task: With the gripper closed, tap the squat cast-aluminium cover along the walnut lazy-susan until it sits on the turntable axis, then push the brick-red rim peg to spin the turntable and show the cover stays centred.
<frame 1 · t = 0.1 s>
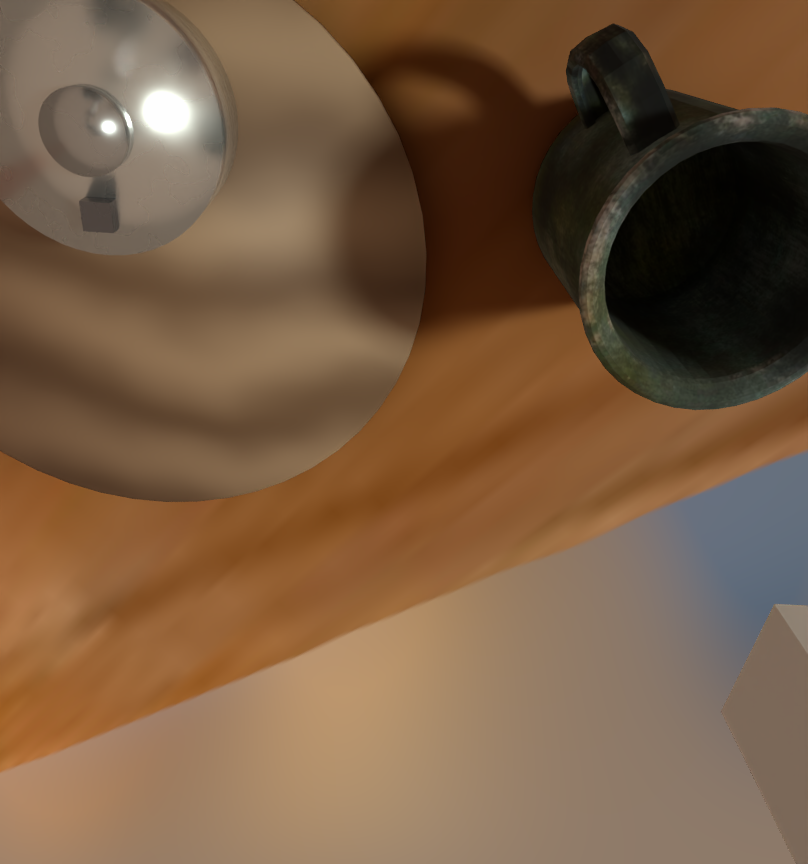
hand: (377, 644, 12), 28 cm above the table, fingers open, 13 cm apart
turntable: (124, 287, 33), point 4 cm above the table, hinge at 0.0°, touching cover
cover: (122, 114, 31), point 2 cm above the table, touching turntable
mug: (614, 169, 35), on the table
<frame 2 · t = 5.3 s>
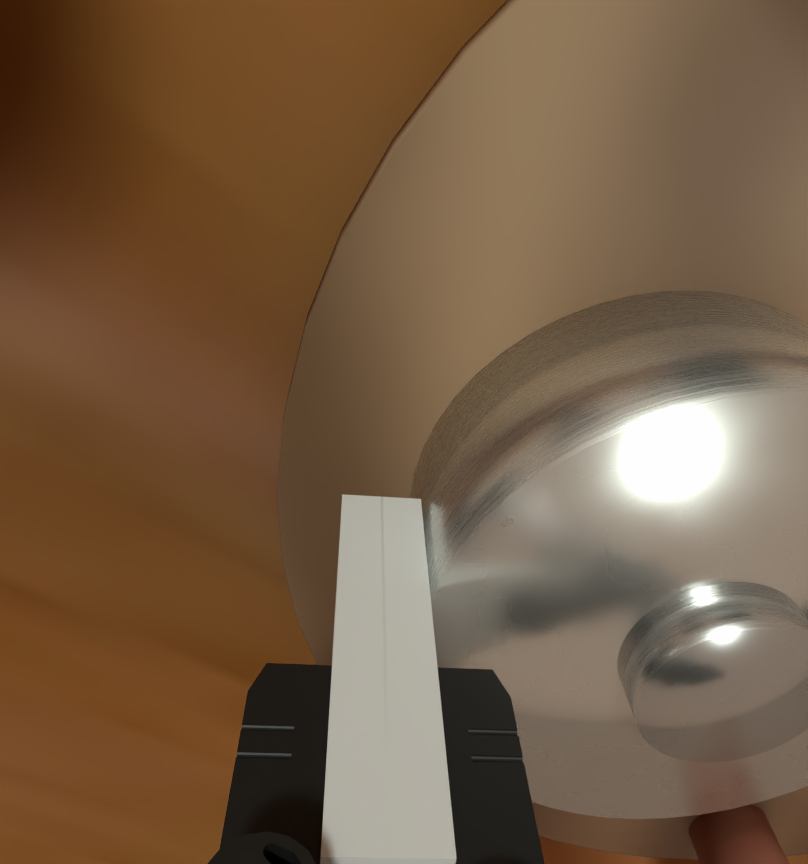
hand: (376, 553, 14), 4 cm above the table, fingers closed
cover: (635, 508, 16), point 2 cm above the table, touching gripper
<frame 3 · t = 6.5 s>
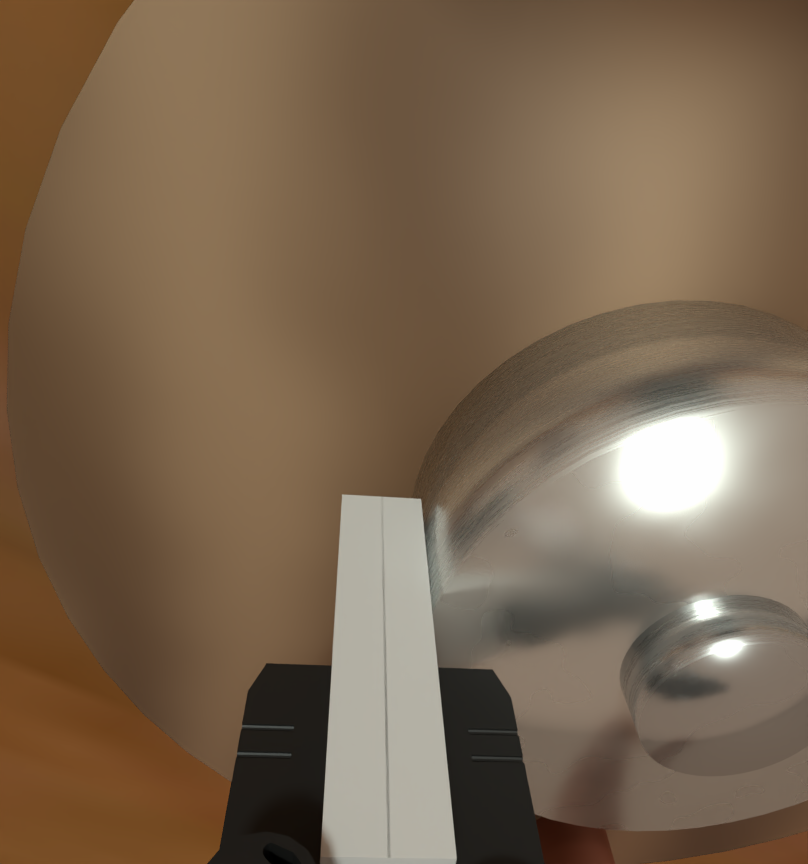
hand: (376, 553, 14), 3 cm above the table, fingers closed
turntable: (728, 604, 14), point 4 cm above the table, hinge at 0.0°, touching cover
cover: (638, 518, 16), point 2 cm above the table, touching gripper, turntable
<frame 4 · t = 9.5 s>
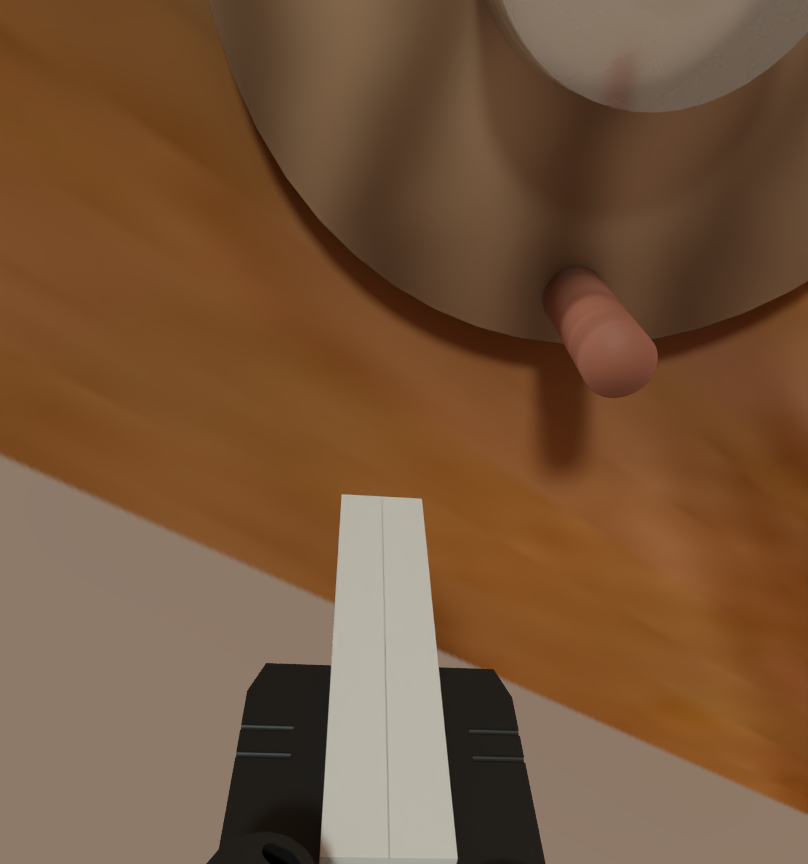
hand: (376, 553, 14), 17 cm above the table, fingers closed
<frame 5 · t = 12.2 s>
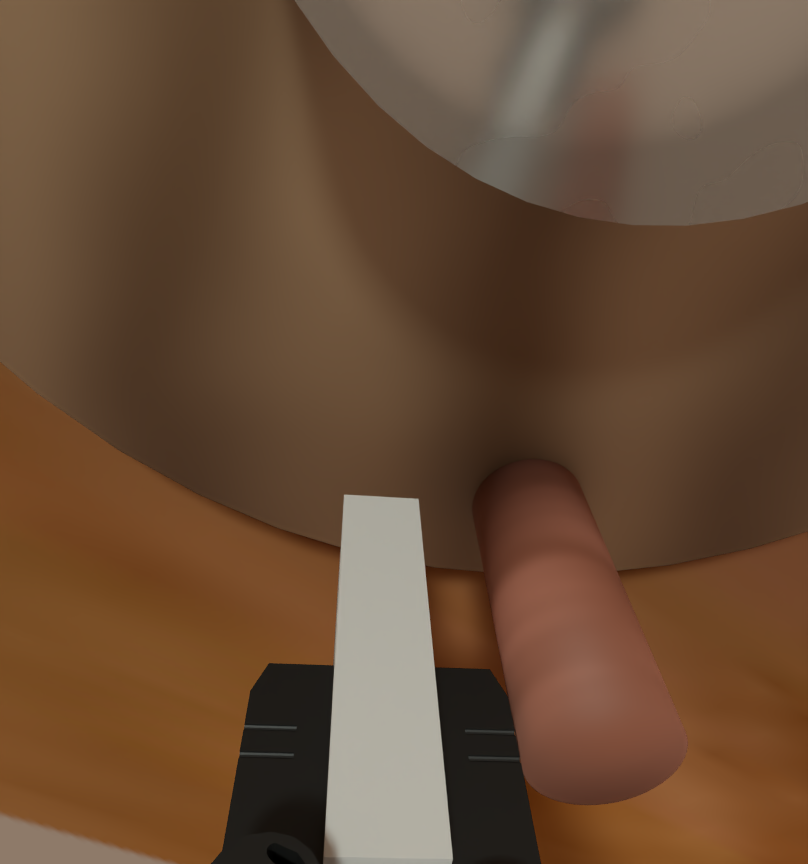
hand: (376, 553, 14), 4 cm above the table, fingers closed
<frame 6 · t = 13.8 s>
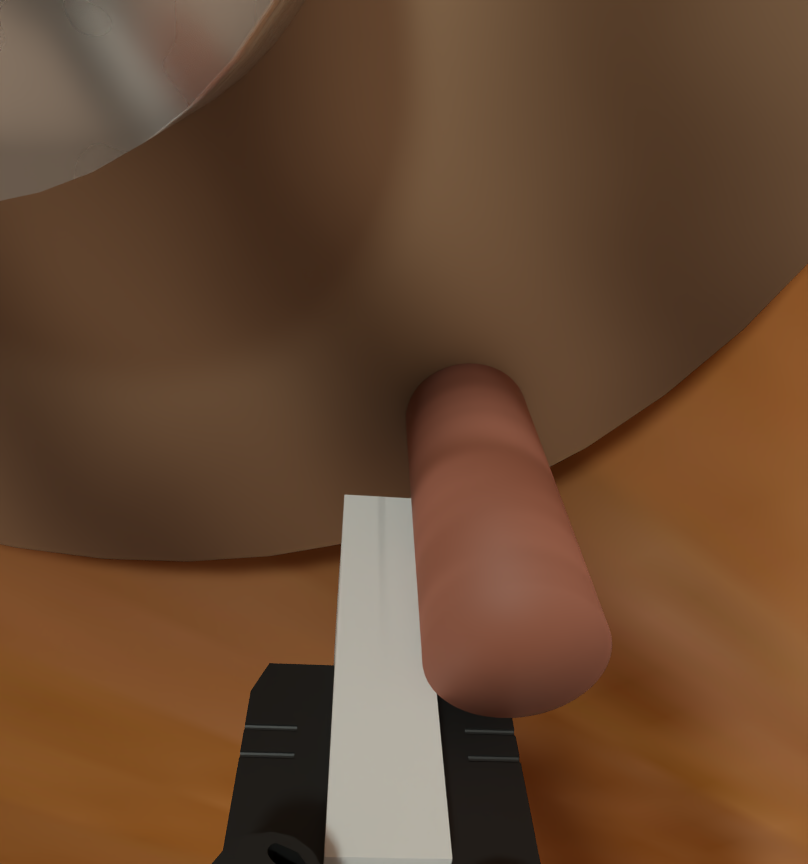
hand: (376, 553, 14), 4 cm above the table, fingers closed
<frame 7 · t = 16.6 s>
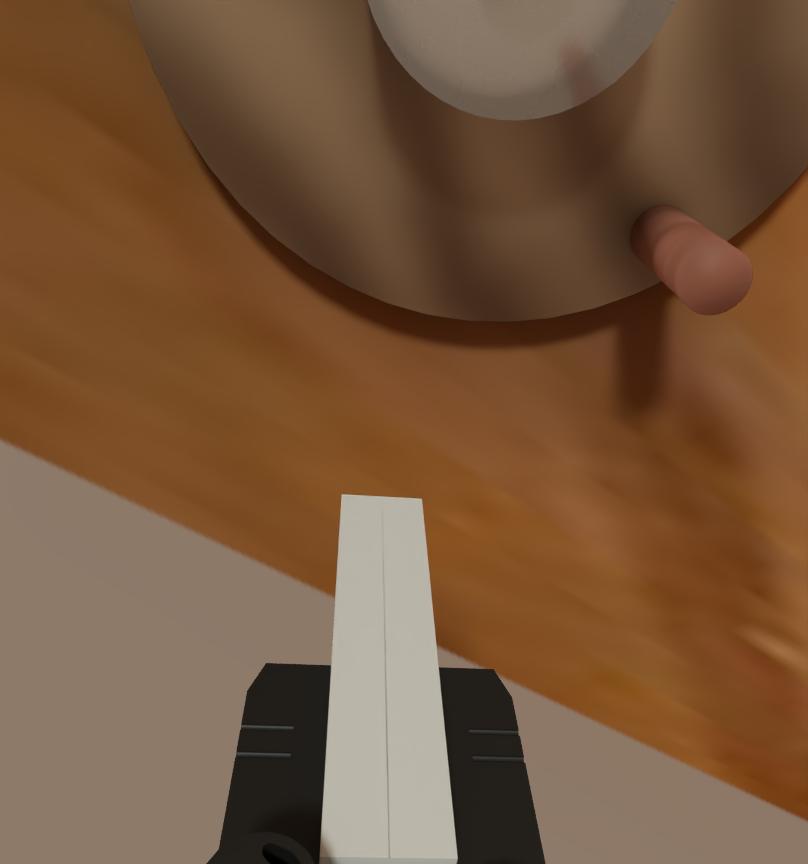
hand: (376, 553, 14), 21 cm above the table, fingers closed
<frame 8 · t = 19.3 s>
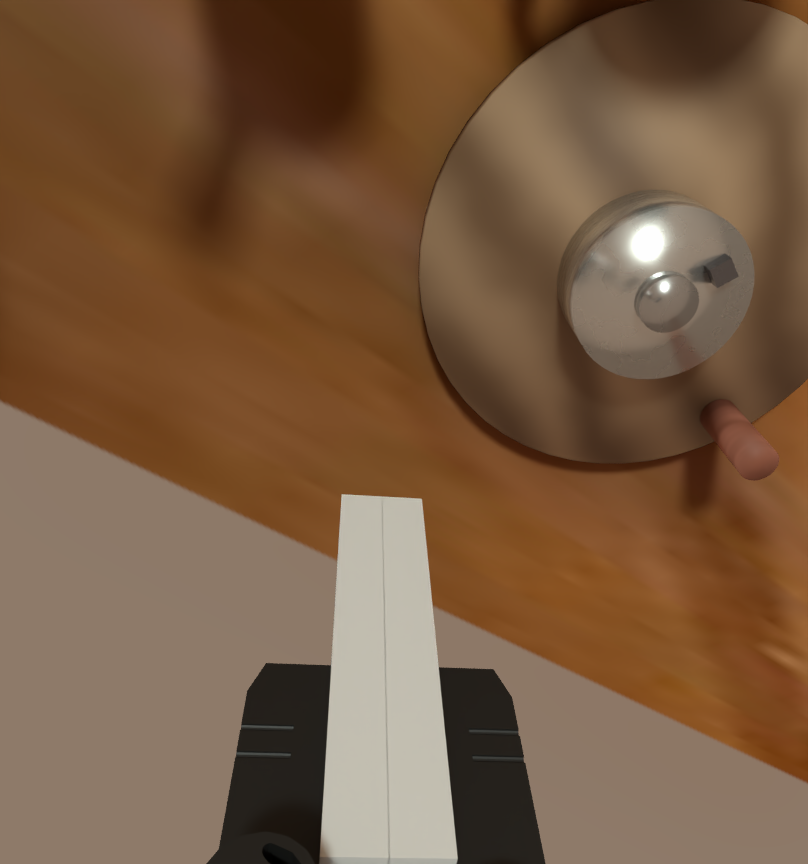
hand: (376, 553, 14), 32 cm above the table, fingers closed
turntable: (666, 283, 41), point 4 cm above the table, hinge at 37.4°, touching cover
cover: (639, 275, 43), point 2 cm above the table, touching turntable
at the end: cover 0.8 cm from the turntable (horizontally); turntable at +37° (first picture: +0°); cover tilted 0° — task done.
